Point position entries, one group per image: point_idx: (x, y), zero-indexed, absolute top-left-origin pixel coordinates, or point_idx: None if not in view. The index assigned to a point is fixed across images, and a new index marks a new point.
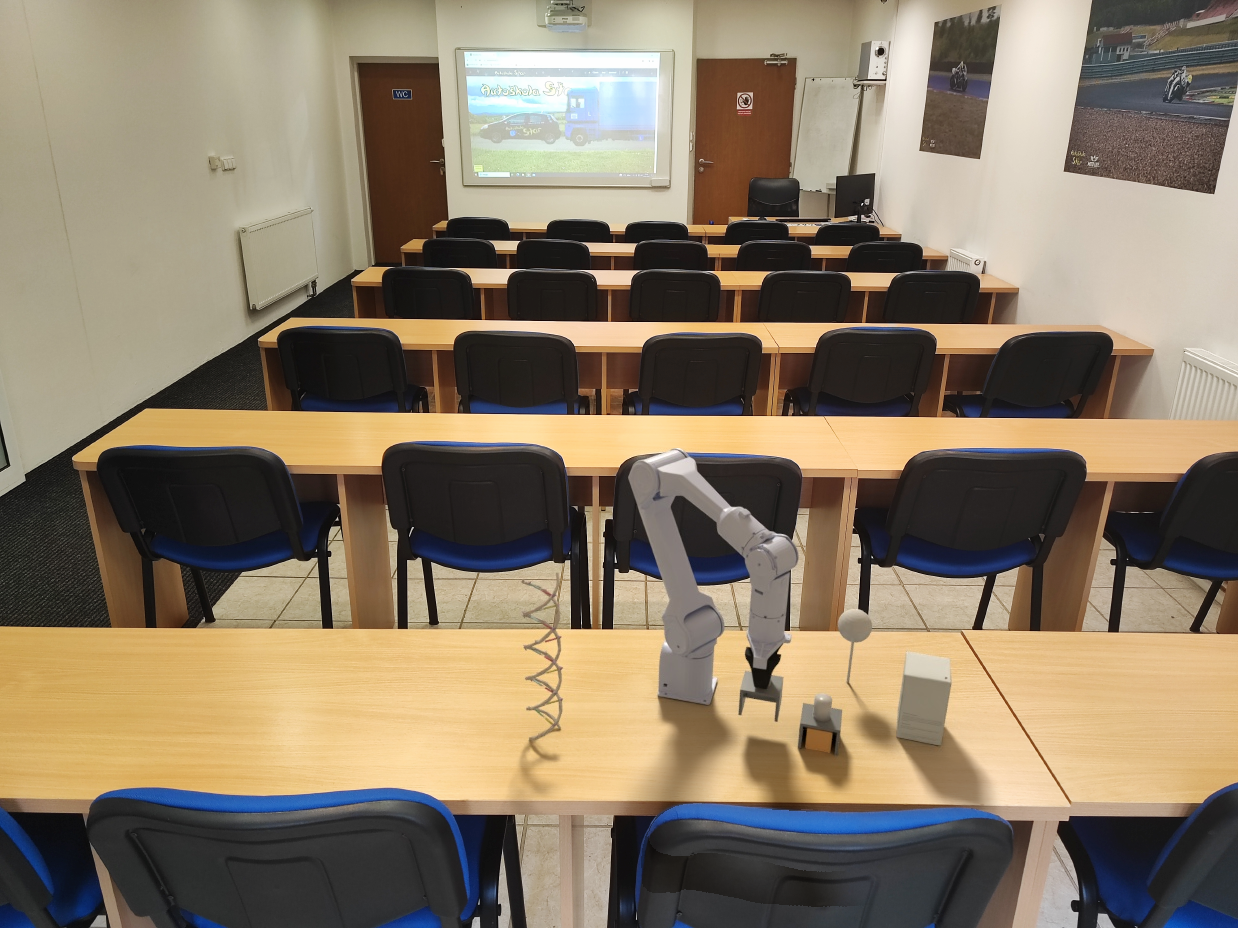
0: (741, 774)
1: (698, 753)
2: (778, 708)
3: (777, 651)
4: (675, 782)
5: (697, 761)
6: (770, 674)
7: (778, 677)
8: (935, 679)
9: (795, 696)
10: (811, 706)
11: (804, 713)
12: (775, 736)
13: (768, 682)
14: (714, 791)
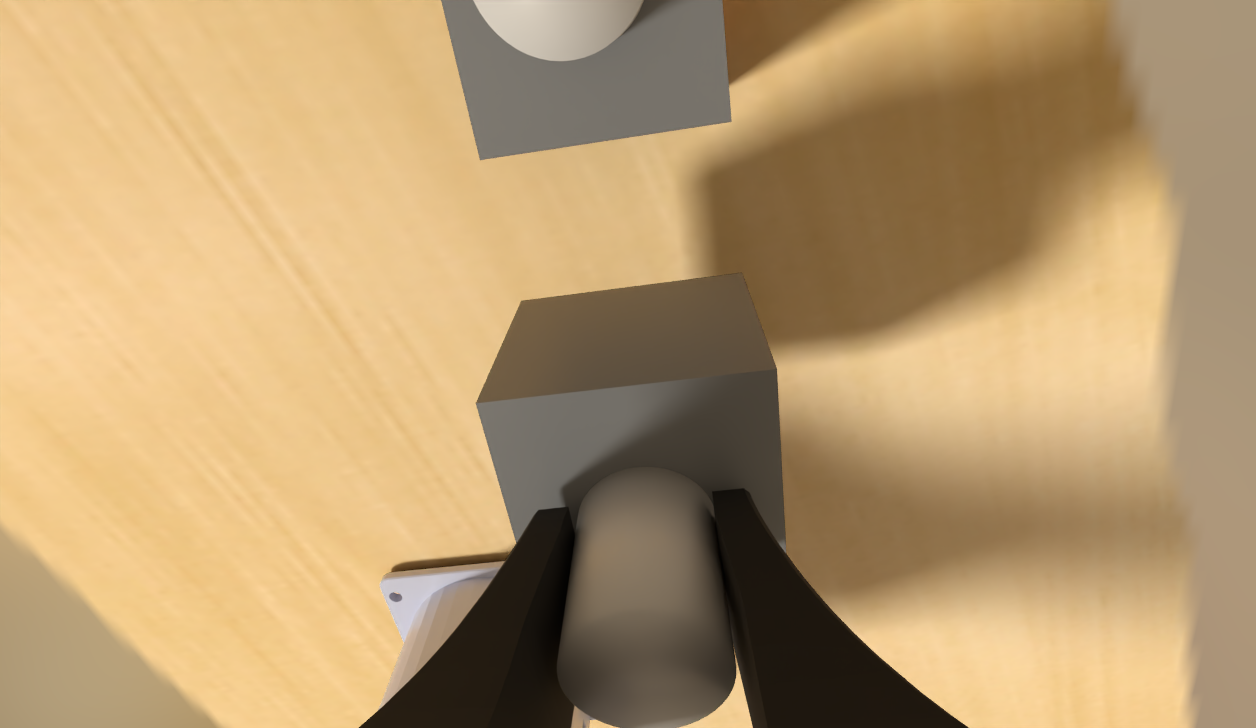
0: (1004, 315)
1: (903, 506)
2: (756, 316)
3: (497, 719)
4: (1105, 530)
5: (956, 496)
6: (824, 606)
7: (505, 435)
8: None
9: (265, 222)
10: (491, 85)
11: (601, 117)
12: (659, 237)
13: (768, 530)
14: (1143, 389)
